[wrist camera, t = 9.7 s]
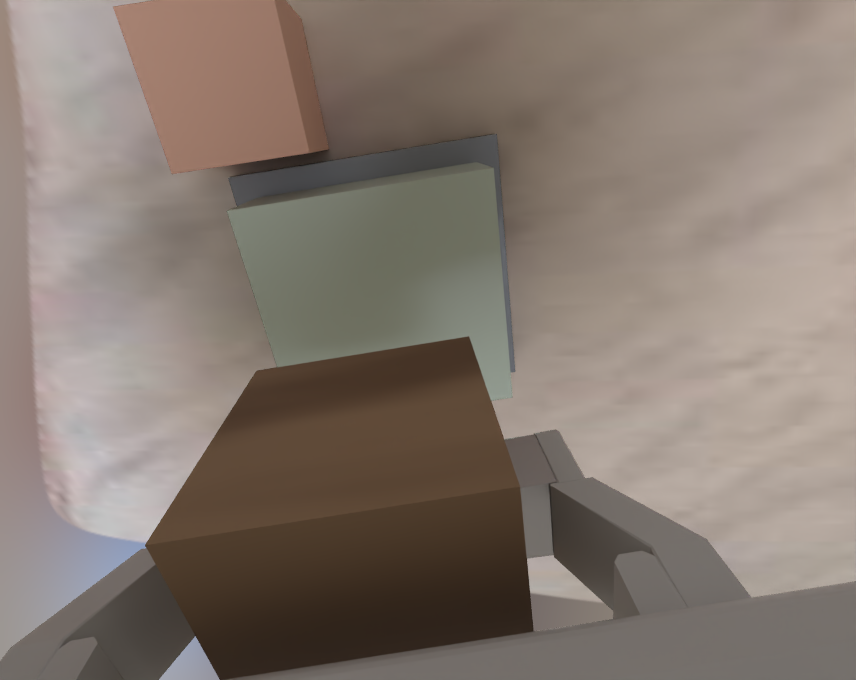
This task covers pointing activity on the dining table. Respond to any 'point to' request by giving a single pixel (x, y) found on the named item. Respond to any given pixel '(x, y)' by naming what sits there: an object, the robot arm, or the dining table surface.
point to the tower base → (381, 254)
